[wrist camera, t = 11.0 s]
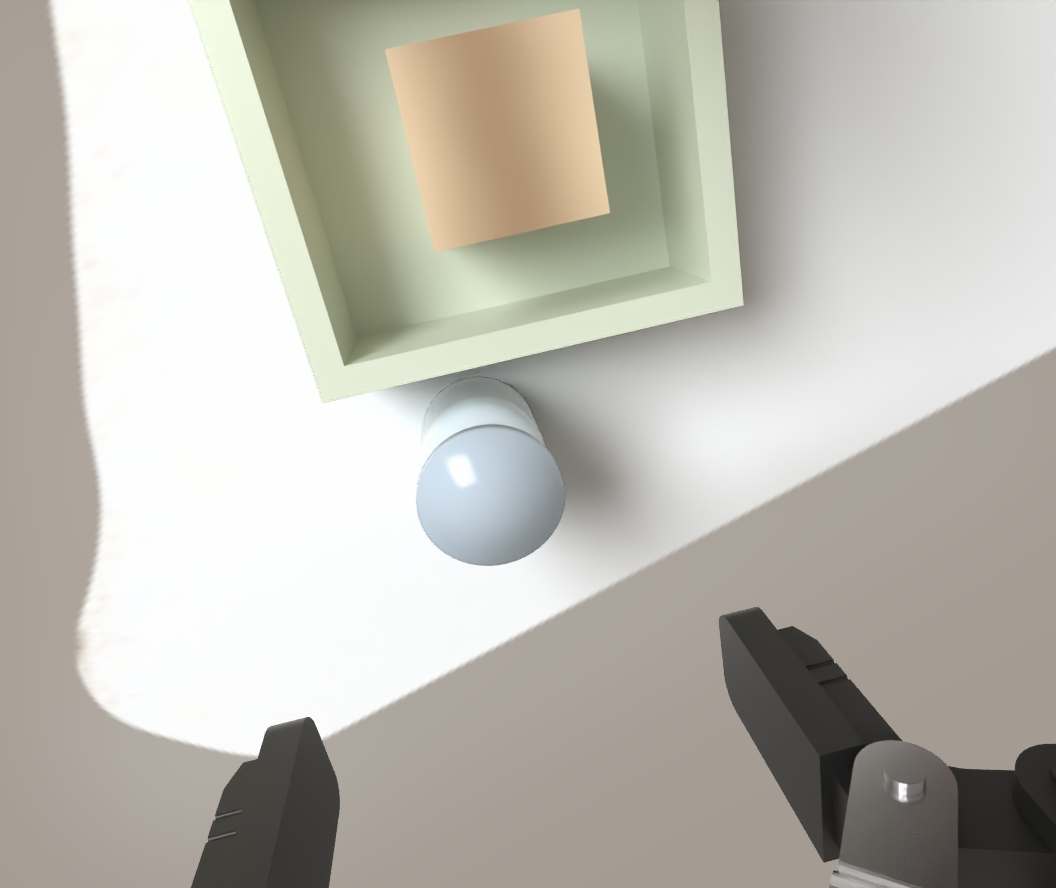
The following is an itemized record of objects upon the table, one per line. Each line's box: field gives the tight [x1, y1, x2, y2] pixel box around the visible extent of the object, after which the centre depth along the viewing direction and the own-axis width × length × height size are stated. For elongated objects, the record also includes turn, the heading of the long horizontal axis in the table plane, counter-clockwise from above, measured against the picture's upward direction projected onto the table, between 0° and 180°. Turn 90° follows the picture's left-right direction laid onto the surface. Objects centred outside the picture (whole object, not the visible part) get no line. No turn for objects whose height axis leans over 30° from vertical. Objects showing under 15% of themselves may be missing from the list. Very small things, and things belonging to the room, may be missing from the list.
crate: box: [188, 0, 744, 403], centre depth 22 cm, size 14×13×5 cm
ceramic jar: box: [416, 377, 565, 566], centre depth 25 cm, size 5×5×7 cm
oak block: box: [385, 9, 610, 252], centre depth 21 cm, size 5×5×6 cm
